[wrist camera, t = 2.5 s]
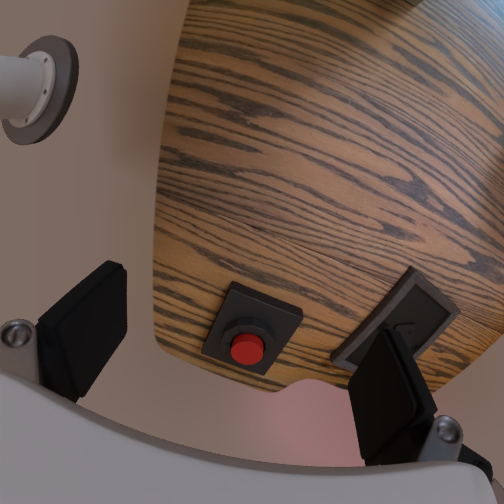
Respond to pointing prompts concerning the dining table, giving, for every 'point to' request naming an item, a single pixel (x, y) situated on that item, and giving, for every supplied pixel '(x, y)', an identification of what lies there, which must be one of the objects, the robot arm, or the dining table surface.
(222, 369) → the dining table surface
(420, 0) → the cabinet door
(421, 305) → the picture frame
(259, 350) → the button
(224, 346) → the switch block
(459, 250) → the dining table surface
